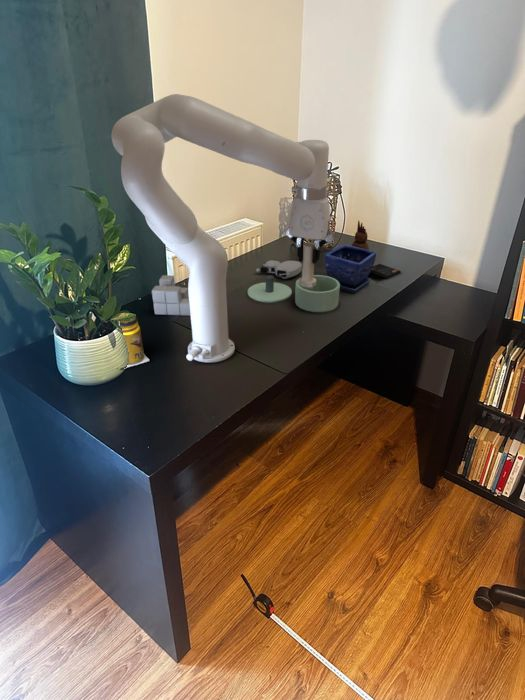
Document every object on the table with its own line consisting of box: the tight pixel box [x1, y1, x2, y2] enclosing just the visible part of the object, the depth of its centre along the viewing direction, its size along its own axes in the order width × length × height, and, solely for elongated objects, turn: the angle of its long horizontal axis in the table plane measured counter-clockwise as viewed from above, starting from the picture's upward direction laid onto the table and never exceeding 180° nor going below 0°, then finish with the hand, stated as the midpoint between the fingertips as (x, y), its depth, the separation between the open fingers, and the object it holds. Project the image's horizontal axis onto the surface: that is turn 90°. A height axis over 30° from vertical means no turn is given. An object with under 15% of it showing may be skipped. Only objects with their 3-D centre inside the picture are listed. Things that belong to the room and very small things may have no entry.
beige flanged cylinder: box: [298, 241, 316, 288], centre depth 136 cm, size 9×5×12 cm, turn 3°
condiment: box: [120, 315, 150, 369], centre depth 127 cm, size 7×8×12 cm
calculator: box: [370, 263, 401, 279], centre depth 178 cm, size 9×12×3 cm
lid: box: [247, 275, 293, 303], centre depth 162 cm, size 15×15×6 cm
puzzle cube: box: [151, 274, 191, 317], centre depth 154 cm, size 12×12×8 cm
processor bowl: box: [294, 274, 341, 313], centre depth 156 cm, size 14×14×7 cm
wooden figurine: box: [351, 220, 370, 261], centre depth 186 cm, size 7×6×15 cm
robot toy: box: [255, 259, 303, 280], centre depth 177 cm, size 12×4×15 cm
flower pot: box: [324, 244, 377, 294], centre depth 166 cm, size 13×13×12 cm
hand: (308, 260), depth 135 cm, fingers closed on beige flanged cylinder, 3 cm apart
